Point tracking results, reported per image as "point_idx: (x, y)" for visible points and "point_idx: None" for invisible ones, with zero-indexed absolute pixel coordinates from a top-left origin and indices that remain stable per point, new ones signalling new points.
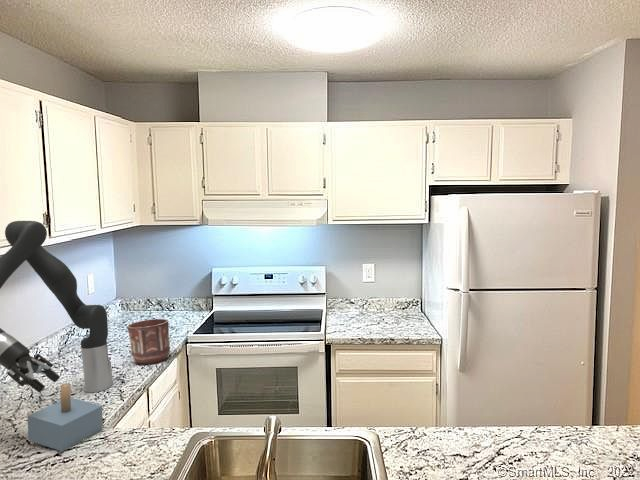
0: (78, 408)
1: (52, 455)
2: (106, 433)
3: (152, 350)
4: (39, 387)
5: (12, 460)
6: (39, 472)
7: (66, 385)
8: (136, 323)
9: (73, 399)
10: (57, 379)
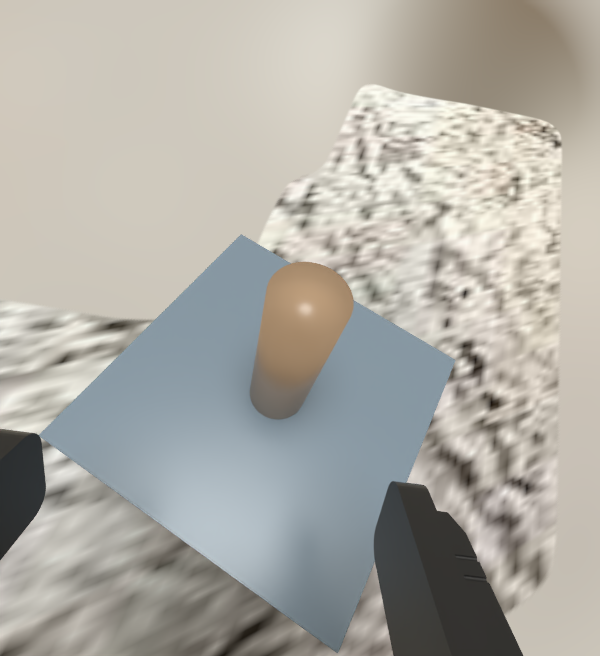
0: (256, 332)
1: None
2: None
3: None
4: (454, 532)
5: None
6: (545, 432)
7: (326, 287)
8: None
9: (99, 394)
10: (39, 457)
